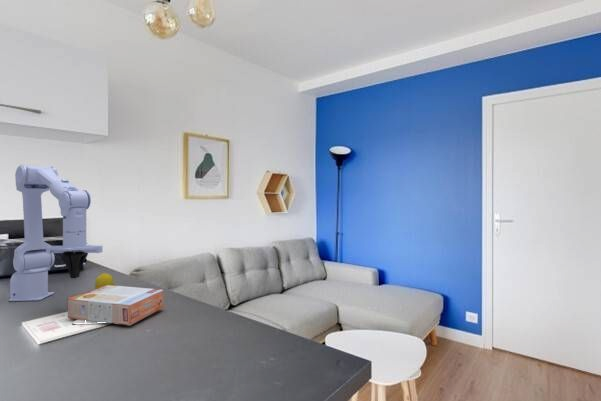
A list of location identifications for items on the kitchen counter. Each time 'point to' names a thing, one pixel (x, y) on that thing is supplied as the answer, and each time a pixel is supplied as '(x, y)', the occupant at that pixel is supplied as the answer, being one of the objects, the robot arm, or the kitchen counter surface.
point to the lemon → (104, 280)
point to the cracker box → (115, 304)
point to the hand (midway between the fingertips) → (74, 277)
